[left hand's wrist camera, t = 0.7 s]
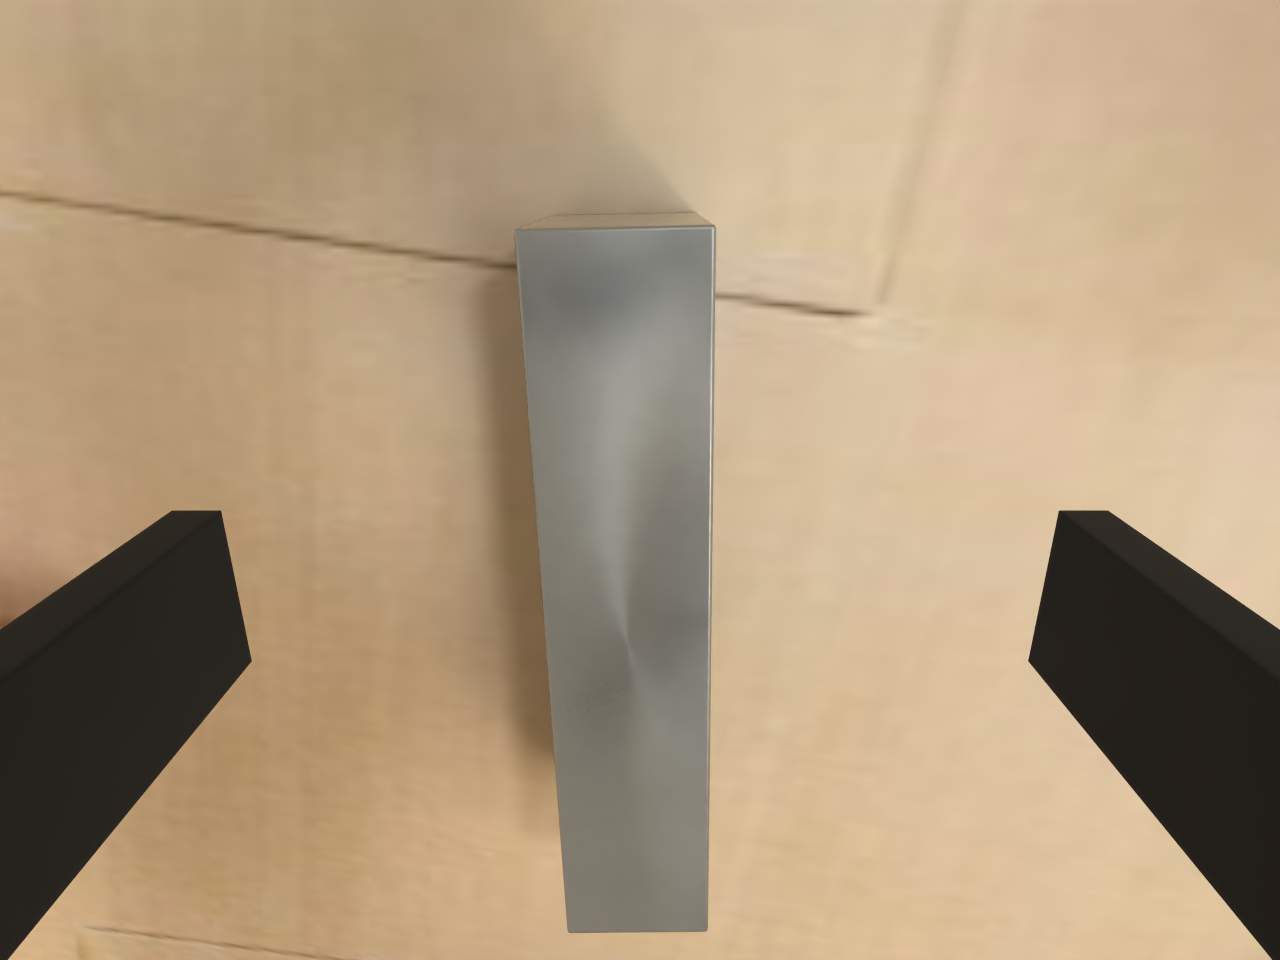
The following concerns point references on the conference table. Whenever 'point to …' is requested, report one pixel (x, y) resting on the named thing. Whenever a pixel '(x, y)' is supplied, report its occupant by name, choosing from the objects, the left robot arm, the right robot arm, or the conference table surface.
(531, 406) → the bar
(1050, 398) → the conference table surface
